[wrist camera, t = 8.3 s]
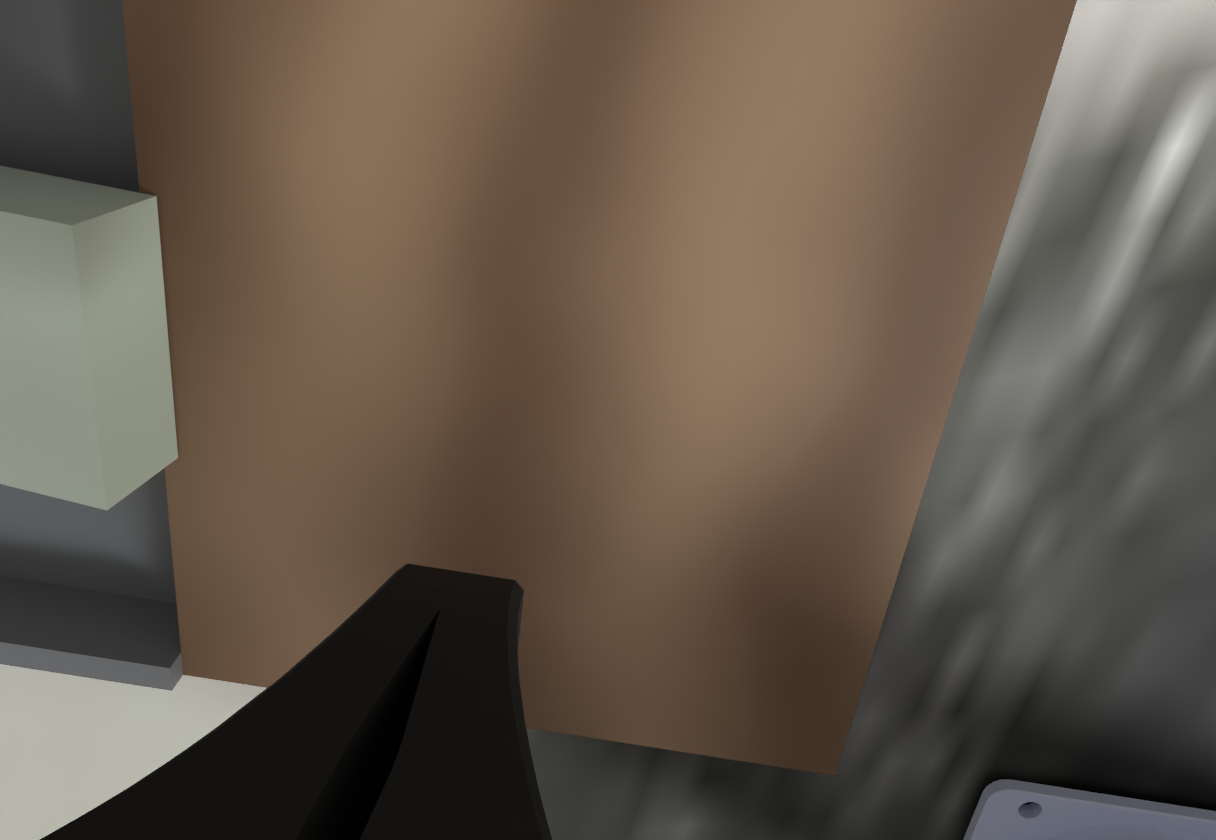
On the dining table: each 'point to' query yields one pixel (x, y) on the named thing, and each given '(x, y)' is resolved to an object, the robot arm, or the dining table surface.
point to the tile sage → (82, 340)
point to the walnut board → (577, 327)
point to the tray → (43, 525)
